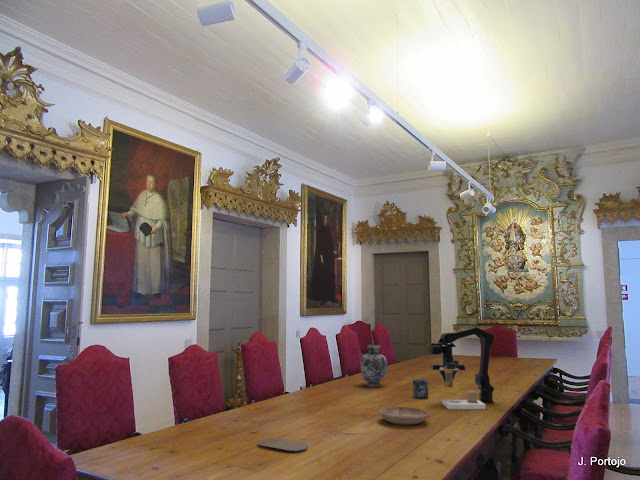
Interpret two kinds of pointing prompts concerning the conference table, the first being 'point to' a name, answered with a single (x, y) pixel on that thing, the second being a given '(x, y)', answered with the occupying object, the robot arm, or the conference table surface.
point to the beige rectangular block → (448, 379)
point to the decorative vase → (373, 366)
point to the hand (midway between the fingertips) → (448, 382)
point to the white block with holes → (465, 402)
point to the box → (420, 388)
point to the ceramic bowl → (404, 415)
